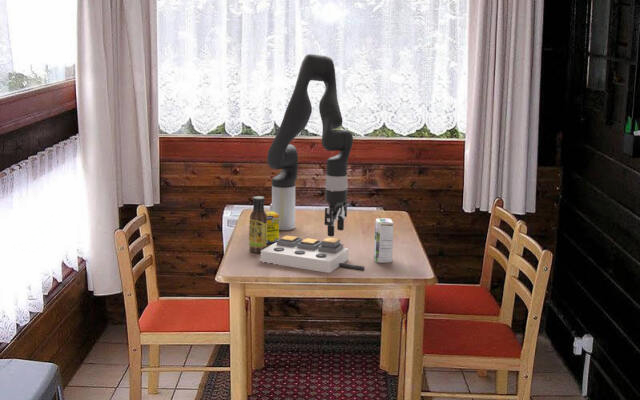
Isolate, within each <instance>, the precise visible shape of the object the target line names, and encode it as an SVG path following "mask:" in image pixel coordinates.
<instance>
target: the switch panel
mask: <svg viewBox="0 0 640 400" xmlns="http://www.w3.org/2000/svg"><path fill="white" fill-rule="evenodd" d="M285 236H286V235H284V236H283V237H285ZM283 237H281V238H283ZM281 238H279V240H277V242H276V243H271V244H270V245H269V246H266V248H265V249H263V250H261V253H260V262H261V261H262V262H261V263H264V262H267V263H266V264H270V263H273V264H272V265H276V264H278V265H277V266H283V267H284V266H285V267H291V268H296V269H302V270H309V271H316V272H320V273H326V274H327V273H328V274H331V273H332V272H333V271H335V270H336V269H337V268H339V267H341V268H347V269H354V270H361V271H364V270H366V269H365V268H366V267H365V266H364V265H363V266H362V265H357V264H350V263H346V262H348V261H349V248H346V247H345V248H344V244H343V243H340V245H339V246H337V247H336V248H330V247H323V246H322V241H323V240H319V243H317V244H316V245H314V246H313V245H306V244H301V241H303V240H305V239H306V238H304V239H303V238H302V237H298V240H297V241H295V242H286V241H280V239H281Z"/></svg>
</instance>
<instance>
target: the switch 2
mask: <svg viewBox="0 0 640 400" xmlns="http://www.w3.org/2000/svg"><path fill="white" fill-rule="evenodd" d="M304 239H305V240H304ZM304 239H302V241H301V244H306V245H313V246H314V245H316V244H317V243H319V241H320V240H319V239H314V238H309V237H308V238H304Z"/></svg>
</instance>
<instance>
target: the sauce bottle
mask: <svg viewBox="0 0 640 400" xmlns="http://www.w3.org/2000/svg"><path fill="white" fill-rule="evenodd" d="M252 201H253V207H252V208H253V210H252V211H251V213H250V215H249V226H248V227H249V230H248V231H249V232H248V236H249V238H248V239H249V242H248V244H249V245H248V246H249V251H250V252H252V253H256V254H257V253H259V252H261V250H263V249H265V248H267V245H268V244H267V215H266V213H265V212H266V211H265V196H261V195H260V196H259V195H258V196H257V195H256V196H253V197H252Z"/></svg>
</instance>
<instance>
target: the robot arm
mask: <svg viewBox="0 0 640 400" xmlns="http://www.w3.org/2000/svg"><path fill="white" fill-rule="evenodd" d="M311 81H314V82H322V83H324V86H325V87H324V88H325V89H324V92H323V95H322V96H321V98H320V101H319V104H318V110H319V115H320V119H321V123H322V135H321V146H322V147H323V148H324V150H326V151H328V152H334V151H335V152H337V151H338V153H337V155H334V156H331V157H329V158H327V160H326V176H325V198H324V199H325V201H326V202H327V203H329V206H328V207H325V208H324V225H325V226H327V236H328V237H330V238H333V237H334V236H335V223H336V221H337V225H336V226H337V231H344V230H345V229H344V228H345V219H346V218H347V216H348V184H349V183H348V162H349V157H350V153H351V151H352V147H353V143H354V137H353V134H352V132H351V131H350V130H349V129H339V128H340V127H342V126H343V117H342V112H341V109H340V105H339V101H338V100H339V99H338V91H337V78H336V69H335V64H334V60H333V58H332V57H331V56H328V55H322V54H316V53H315V54H314V53H307V54H305V56H304V57H303V59H302V61H301V64H300V67H299V71H298V73H297V79H296V81H295V86H294V89H293V92H292V95H291V97H290V99H289V102H288V104H287V106H286V108H285V112H284V115H283V117H282V120H281V123H280V125H279V128H278V131H277V133H276V135H275V137H274V139H273V141H272V143H271V145H270V146H269V149H268V152H267V157H266V159H267V164H268V167H270V168H271V169H272V170H281V171H280V172H279V173H278V174H277V175H275V176H274V177H272V178H271V203H270V204H269V212H271V211H273V212H275V213H277V214H279V231H291V230H294V229H295V228H296V182H297V178H298V165H299V155H298V151H297V148H296V146H294V145H293V144H291V142H292V141H293V140H294V139H295V138H296V137H297V136H298V135H300V133H302V131H303V130H304V129H305V128H306V127H307V125H308V122H309V121H310V119H311V116H312V112H313V107H312V102H311V100H310V97H309V96H310V95H309V92H308V86H309V85H310V82H311Z"/></svg>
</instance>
